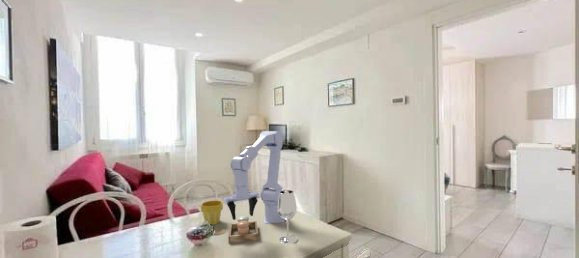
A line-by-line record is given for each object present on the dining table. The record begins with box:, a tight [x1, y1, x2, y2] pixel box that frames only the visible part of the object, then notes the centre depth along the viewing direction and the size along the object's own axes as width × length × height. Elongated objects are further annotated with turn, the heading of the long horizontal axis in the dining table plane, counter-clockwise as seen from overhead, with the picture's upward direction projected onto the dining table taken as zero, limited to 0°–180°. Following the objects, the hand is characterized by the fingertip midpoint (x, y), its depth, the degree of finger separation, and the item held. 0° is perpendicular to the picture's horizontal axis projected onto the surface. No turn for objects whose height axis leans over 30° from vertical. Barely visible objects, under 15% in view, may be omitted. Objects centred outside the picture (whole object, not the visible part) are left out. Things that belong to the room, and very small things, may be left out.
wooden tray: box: [227, 220, 259, 244], centre depth 117 cm, size 12×14×3 cm
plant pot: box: [200, 199, 224, 226], centre depth 132 cm, size 10×10×10 cm
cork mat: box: [213, 228, 226, 236], centre depth 120 cm, size 7×7×1 cm
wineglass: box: [278, 189, 298, 244], centre depth 110 cm, size 8×8×20 cm
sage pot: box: [236, 215, 250, 223], centre depth 120 cm, size 5×5×6 cm
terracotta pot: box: [236, 220, 250, 235], centre depth 114 cm, size 5×5×6 cm
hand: (242, 217), depth 113 cm, fingers open, 7 cm apart
